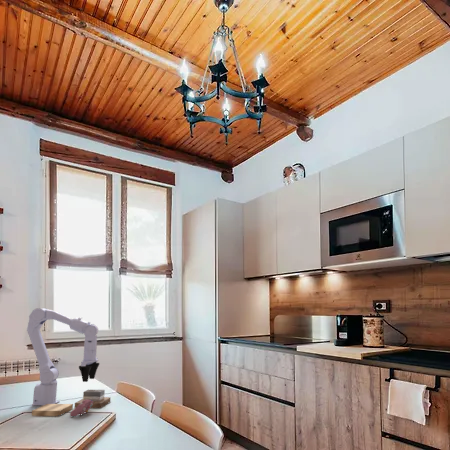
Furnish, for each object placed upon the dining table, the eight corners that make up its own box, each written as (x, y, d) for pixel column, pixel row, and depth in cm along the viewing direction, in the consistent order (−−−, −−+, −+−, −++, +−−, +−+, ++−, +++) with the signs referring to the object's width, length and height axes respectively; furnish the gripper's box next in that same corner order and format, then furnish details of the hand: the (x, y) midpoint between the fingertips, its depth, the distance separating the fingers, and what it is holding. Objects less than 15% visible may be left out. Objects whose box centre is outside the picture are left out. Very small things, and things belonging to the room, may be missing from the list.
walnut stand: (74, 407, 184) (74, 402, 184) (85, 401, 196) (85, 397, 196) (100, 407, 183) (101, 403, 183) (110, 401, 195) (110, 397, 195)
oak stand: (31, 415, 171) (32, 410, 171) (46, 408, 183) (46, 403, 183) (59, 416, 170) (60, 410, 171) (72, 408, 182) (72, 404, 182)
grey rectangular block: (100, 401, 187) (100, 391, 188) (83, 401, 188) (83, 391, 188) (104, 398, 192) (104, 389, 193) (87, 398, 192) (87, 389, 193)
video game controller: (77, 421, 167) (85, 405, 168) (68, 415, 168) (76, 399, 169) (89, 415, 177) (97, 400, 178) (81, 410, 178) (88, 394, 179)
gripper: (92, 352, 191) (90, 383, 189) (104, 348, 206) (102, 377, 203) (77, 351, 192) (75, 382, 189) (90, 348, 206) (88, 377, 204)
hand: (88, 380), depth 196 cm, fingers open, 7 cm apart
